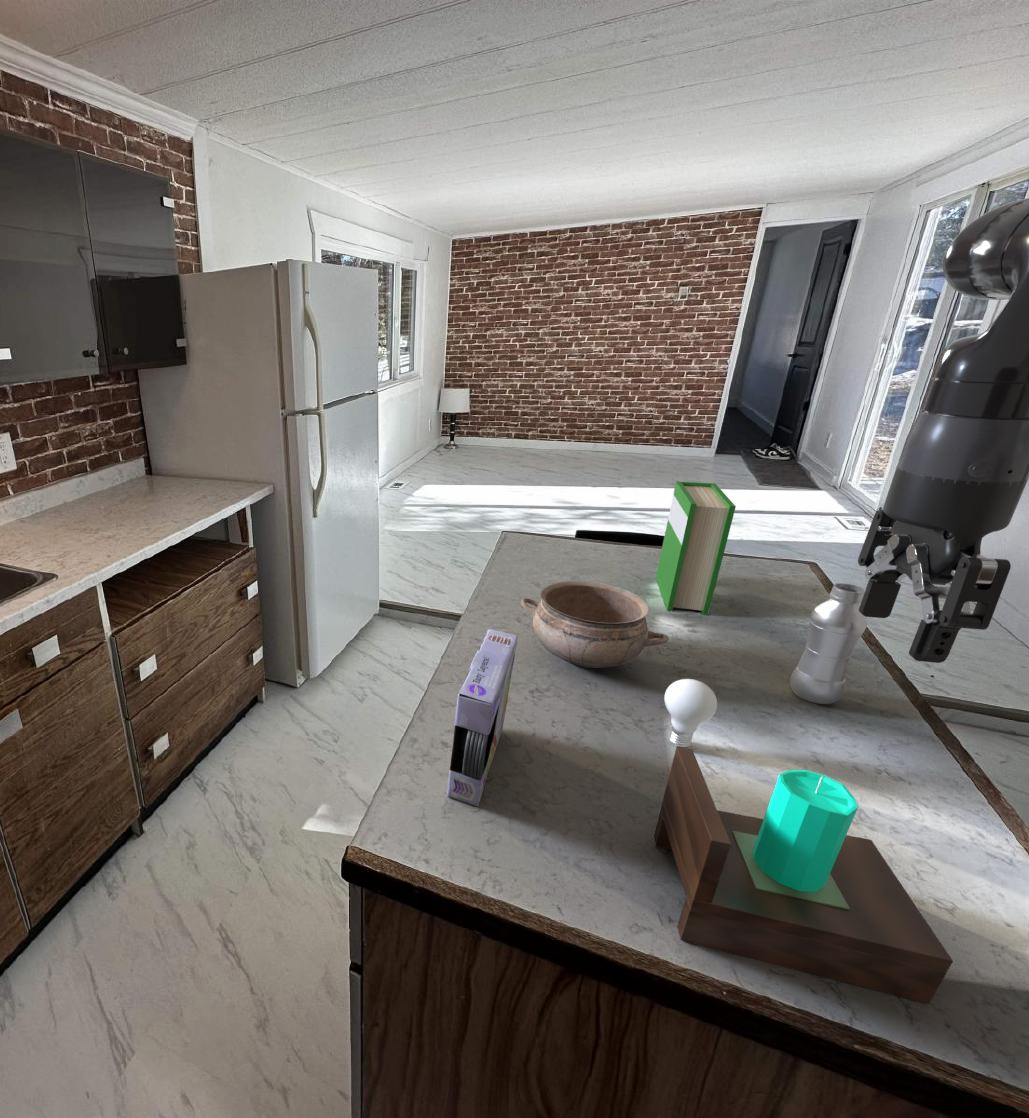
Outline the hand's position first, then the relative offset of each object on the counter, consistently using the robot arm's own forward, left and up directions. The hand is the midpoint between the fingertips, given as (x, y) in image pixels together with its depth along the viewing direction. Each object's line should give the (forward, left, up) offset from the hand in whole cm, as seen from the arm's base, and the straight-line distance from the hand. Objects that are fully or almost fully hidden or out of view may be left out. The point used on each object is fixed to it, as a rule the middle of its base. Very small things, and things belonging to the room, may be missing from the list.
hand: (897, 636), depth 56 cm
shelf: (+4, +5, -32) cm, 32 cm away
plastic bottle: (-16, -41, -32) cm, 54 cm away
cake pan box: (+36, -9, -32) cm, 49 cm away
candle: (+4, +5, -26) cm, 27 cm away
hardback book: (-5, -78, -32) cm, 84 cm away
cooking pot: (+18, -44, -32) cm, 57 cm away
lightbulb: (+7, -22, -32) cm, 39 cm away
